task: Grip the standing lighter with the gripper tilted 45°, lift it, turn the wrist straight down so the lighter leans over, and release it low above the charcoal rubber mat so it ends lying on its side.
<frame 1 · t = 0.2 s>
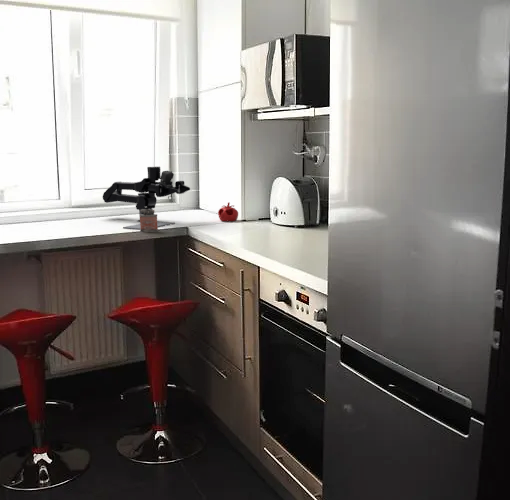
hand: (183, 189, 286), 17 cm above the worktop, tool horizontal, fingers open, 9 cm apart
pomegranate: (228, 221, 298), on the worktop
lighter: (149, 231, 270), on the worktop
mat: (149, 226, 285), on the worktop
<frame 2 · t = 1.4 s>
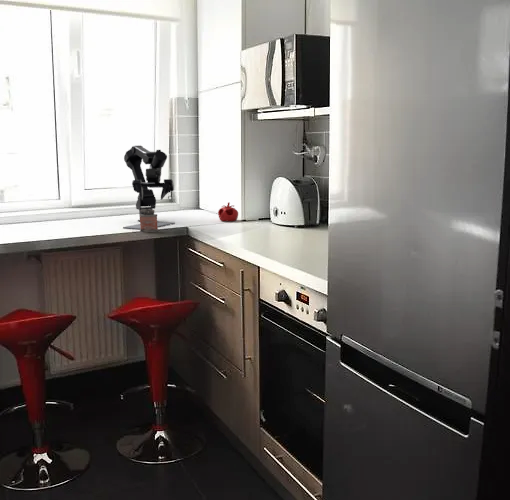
hand: (151, 199, 275), 14 cm above the worktop, tool tilted 45°, fingers open, 9 cm apart
nothing on the worktop moved.
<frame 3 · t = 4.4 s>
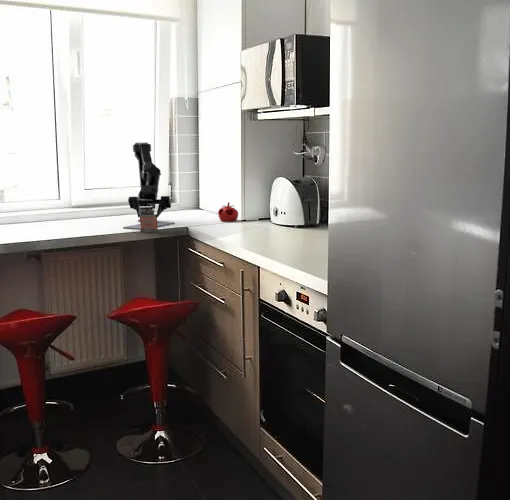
hand: (147, 216, 267), 7 cm above the worktop, tool tilted 45°, fingers closed on lighter, 8 cm apart
lighter: (149, 231, 270), on the worktop, touching gripper
everything else where it was.
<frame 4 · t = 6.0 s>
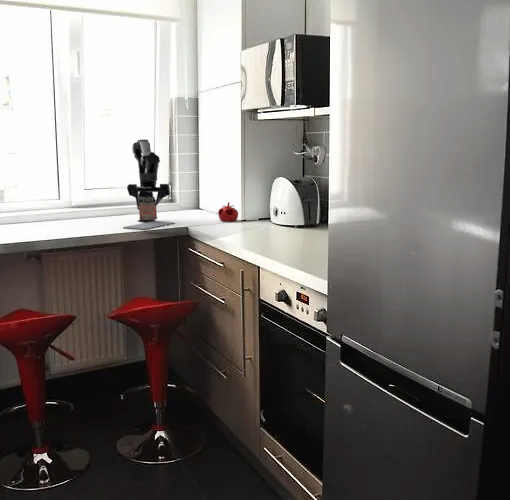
hand: (147, 204, 267), 12 cm above the worktop, tool tilted 40°, fingers closed on lighter, 8 cm apart
lighter: (148, 219, 269), point 5 cm above the worktop, touching gripper
everything else where it was.
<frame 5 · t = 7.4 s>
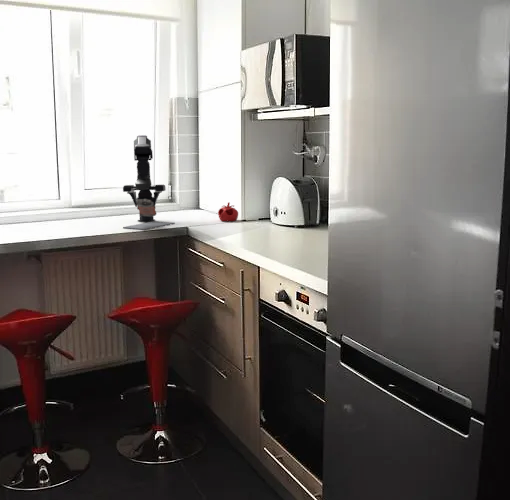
hand: (145, 206, 277), 10 cm above the worktop, tool pointing down, fingers closed on lighter, 8 cm apart
lighter: (148, 213, 284), point 6 cm above the worktop, touching gripper
everything else where it was.
when the fingers open (6 cm above the worktop, at t = 9.2 s): lighter moves 1 cm, resting on mat.
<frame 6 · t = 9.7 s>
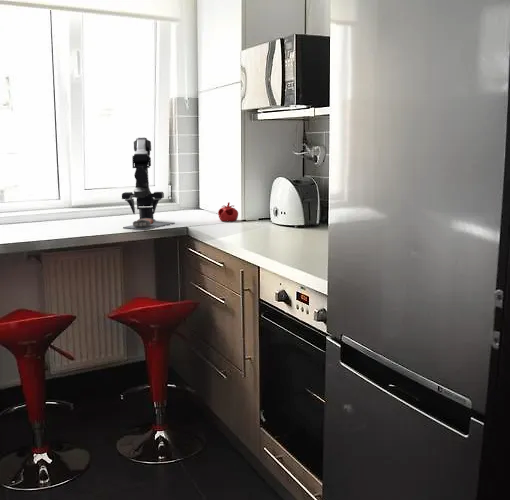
hand: (143, 213, 279), 6 cm above the worktop, tool pointing down, fingers open, 9 cm apart
lighter: (145, 221, 284), point 2 cm above the worktop, touching mat
everything else where it was.
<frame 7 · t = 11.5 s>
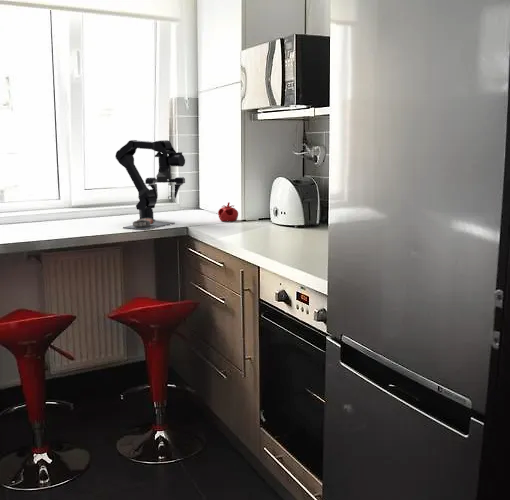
hand: (166, 198, 295), 12 cm above the worktop, tool pointing down, fingers open, 9 cm apart
nothing on the worktop moved.
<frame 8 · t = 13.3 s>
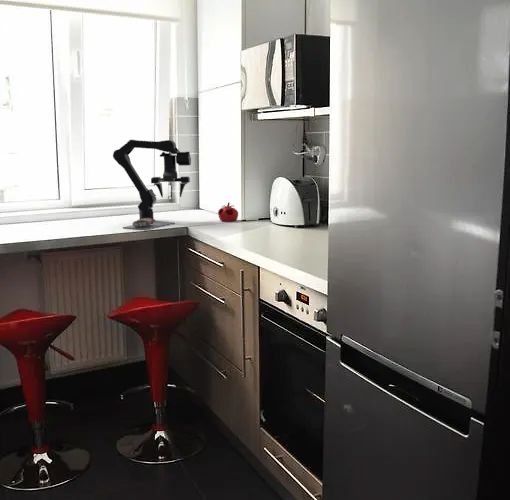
hand: (171, 197, 299), 12 cm above the worktop, tool pointing down, fingers open, 9 cm apart
nothing on the worktop moved.
at the end: lighter tilted 90°; lighter touching mat; the gripper is holding nothing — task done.
